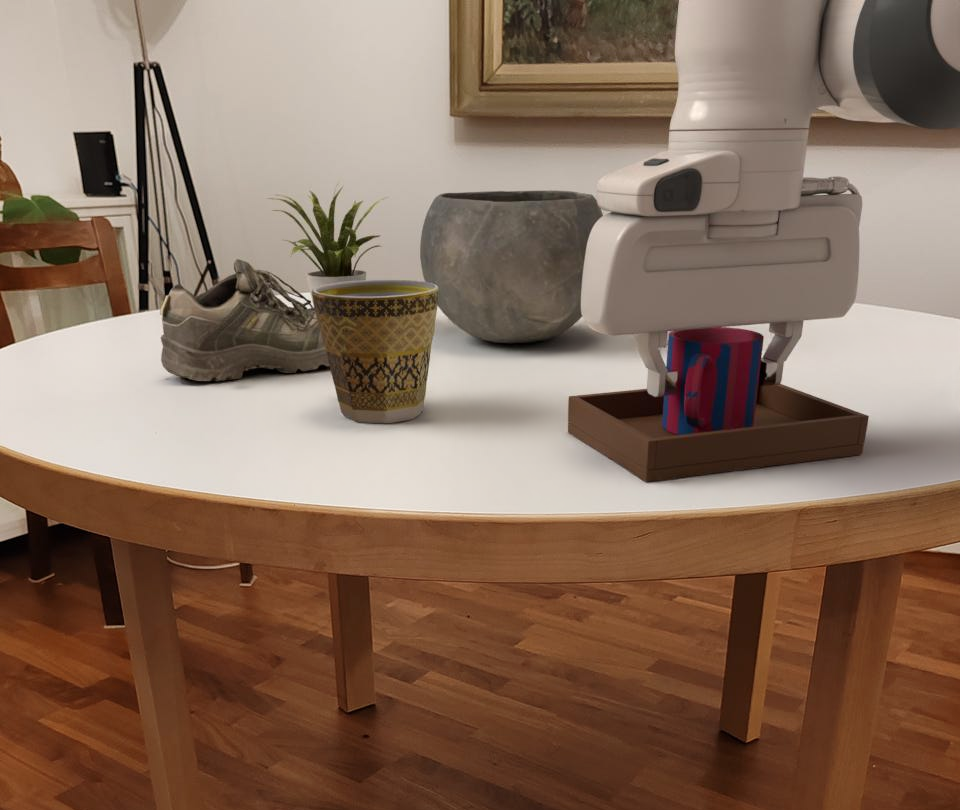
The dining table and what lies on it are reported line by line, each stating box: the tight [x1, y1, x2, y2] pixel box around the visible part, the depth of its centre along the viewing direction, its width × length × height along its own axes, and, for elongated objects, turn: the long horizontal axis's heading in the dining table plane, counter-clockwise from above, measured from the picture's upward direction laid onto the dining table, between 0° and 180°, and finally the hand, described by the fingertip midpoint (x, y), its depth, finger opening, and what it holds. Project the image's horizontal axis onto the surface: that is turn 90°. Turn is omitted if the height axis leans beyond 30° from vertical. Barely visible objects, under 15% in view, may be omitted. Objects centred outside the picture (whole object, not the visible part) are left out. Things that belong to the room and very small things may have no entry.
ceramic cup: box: [311, 279, 438, 424], centre depth 81 cm, size 13×10×10 cm
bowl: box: [419, 189, 604, 345], centre depth 107 cm, size 20×20×15 cm
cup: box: [662, 327, 765, 435], centre depth 71 cm, size 7×10×7 cm
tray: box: [567, 383, 870, 483], centre depth 72 cm, size 17×13×3 cm
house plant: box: [266, 181, 389, 306], centre depth 115 cm, size 14×14×16 cm
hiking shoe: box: [159, 258, 330, 383], centre depth 97 cm, size 9×21×12 cm
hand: (713, 389), depth 71 cm, fingers closed on cup, 7 cm apart
